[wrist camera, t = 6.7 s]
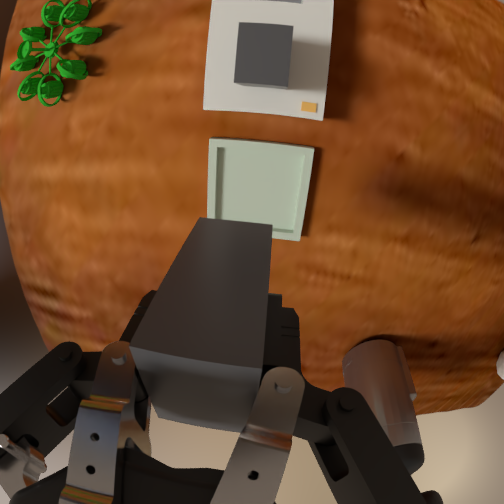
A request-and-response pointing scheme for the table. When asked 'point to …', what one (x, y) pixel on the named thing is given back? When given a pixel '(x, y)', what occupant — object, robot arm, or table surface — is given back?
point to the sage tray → (259, 183)
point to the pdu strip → (301, 56)
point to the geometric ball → (500, 365)
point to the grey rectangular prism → (208, 327)
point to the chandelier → (53, 50)
